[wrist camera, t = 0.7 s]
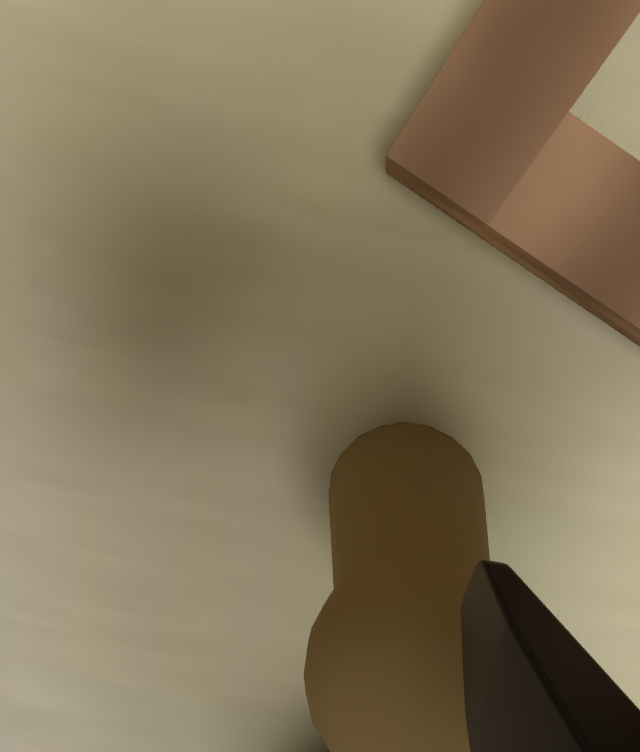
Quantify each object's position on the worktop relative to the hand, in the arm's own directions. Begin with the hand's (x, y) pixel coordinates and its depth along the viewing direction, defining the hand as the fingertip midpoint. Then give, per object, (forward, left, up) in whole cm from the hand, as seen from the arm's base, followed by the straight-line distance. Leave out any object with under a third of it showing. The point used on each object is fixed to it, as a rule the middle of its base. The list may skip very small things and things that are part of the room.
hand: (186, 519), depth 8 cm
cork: (-6, +2, -13) cm, 15 cm away
